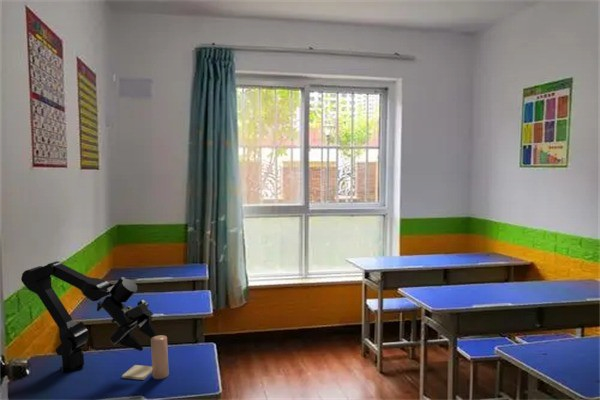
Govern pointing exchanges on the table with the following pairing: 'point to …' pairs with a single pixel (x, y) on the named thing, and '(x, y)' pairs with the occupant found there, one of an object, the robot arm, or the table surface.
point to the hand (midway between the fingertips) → (149, 344)
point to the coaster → (138, 372)
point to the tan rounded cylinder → (159, 357)
